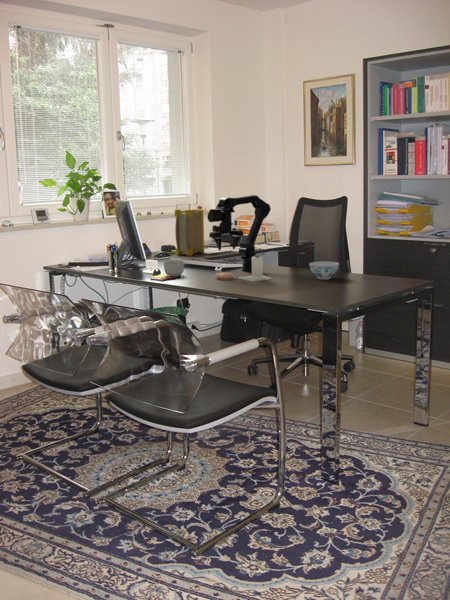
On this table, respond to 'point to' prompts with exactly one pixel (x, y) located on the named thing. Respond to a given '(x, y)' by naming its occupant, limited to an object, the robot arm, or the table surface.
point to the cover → (257, 268)
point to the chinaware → (324, 269)
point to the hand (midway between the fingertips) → (226, 249)
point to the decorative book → (189, 231)
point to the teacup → (174, 267)
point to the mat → (252, 279)
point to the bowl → (224, 276)
